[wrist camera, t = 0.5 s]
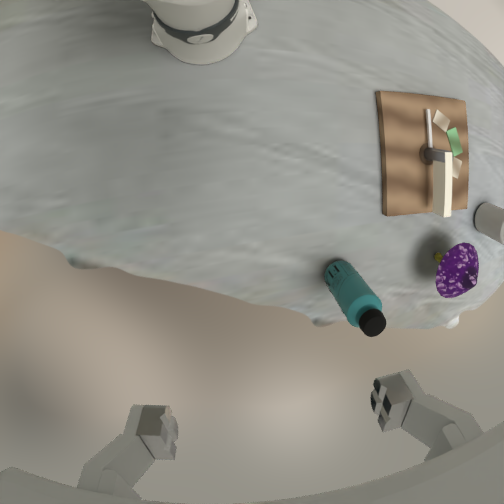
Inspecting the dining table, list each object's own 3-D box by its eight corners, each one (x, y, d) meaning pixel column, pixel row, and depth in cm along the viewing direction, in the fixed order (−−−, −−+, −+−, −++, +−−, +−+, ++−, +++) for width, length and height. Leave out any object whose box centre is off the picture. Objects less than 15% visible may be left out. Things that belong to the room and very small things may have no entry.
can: (470, 232, 59) (502, 249, 48) (474, 201, 56) (508, 215, 45) (489, 230, 59) (520, 246, 48) (492, 201, 56) (525, 215, 45)
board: (375, 92, 48) (380, 90, 45) (459, 101, 48) (466, 100, 46) (382, 213, 56) (387, 216, 54) (461, 206, 56) (467, 209, 54)
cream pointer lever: (420, 108, 47) (440, 107, 40) (430, 109, 47) (451, 108, 40) (423, 208, 54) (442, 217, 48) (433, 207, 54) (452, 216, 48)
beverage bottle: (329, 252, 59) (368, 304, 40) (357, 261, 60) (402, 313, 41) (316, 281, 61) (347, 340, 42) (343, 289, 62) (381, 347, 43)
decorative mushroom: (462, 246, 60) (502, 272, 46) (434, 288, 64) (468, 320, 50) (436, 218, 57) (479, 241, 43) (404, 264, 61) (441, 297, 47)
